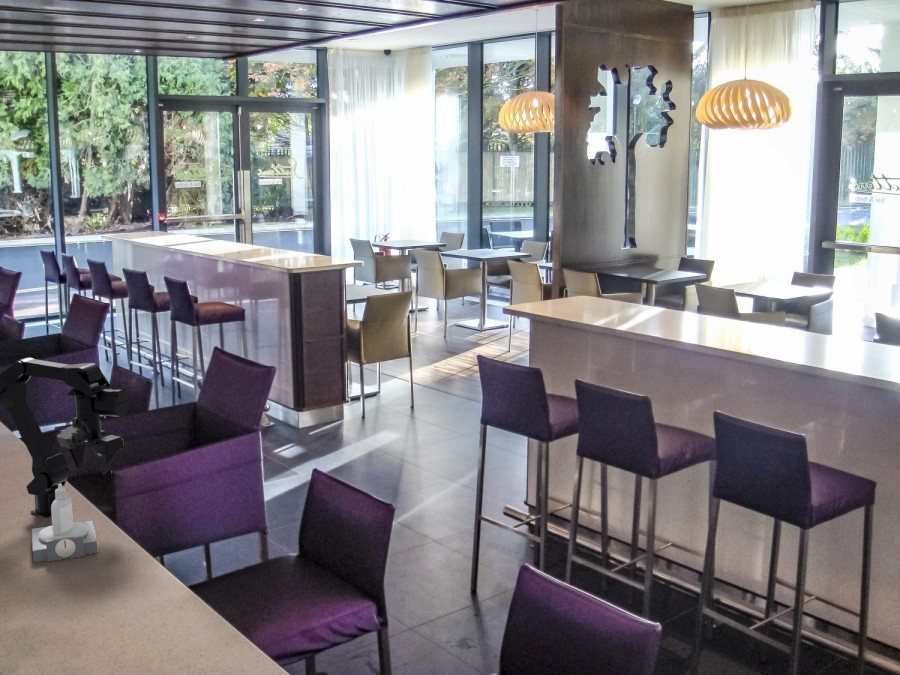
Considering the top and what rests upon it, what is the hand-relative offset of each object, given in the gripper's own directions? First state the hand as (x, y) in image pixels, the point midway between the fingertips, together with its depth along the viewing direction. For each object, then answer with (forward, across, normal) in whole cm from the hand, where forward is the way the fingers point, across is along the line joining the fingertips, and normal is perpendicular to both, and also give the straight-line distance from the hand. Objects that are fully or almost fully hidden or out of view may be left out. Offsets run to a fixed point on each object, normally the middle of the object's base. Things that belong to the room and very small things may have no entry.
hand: (91, 471), depth 242 cm
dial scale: (+13, +8, -16) cm, 22 cm away
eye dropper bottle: (+9, +8, -16) cm, 20 cm away
